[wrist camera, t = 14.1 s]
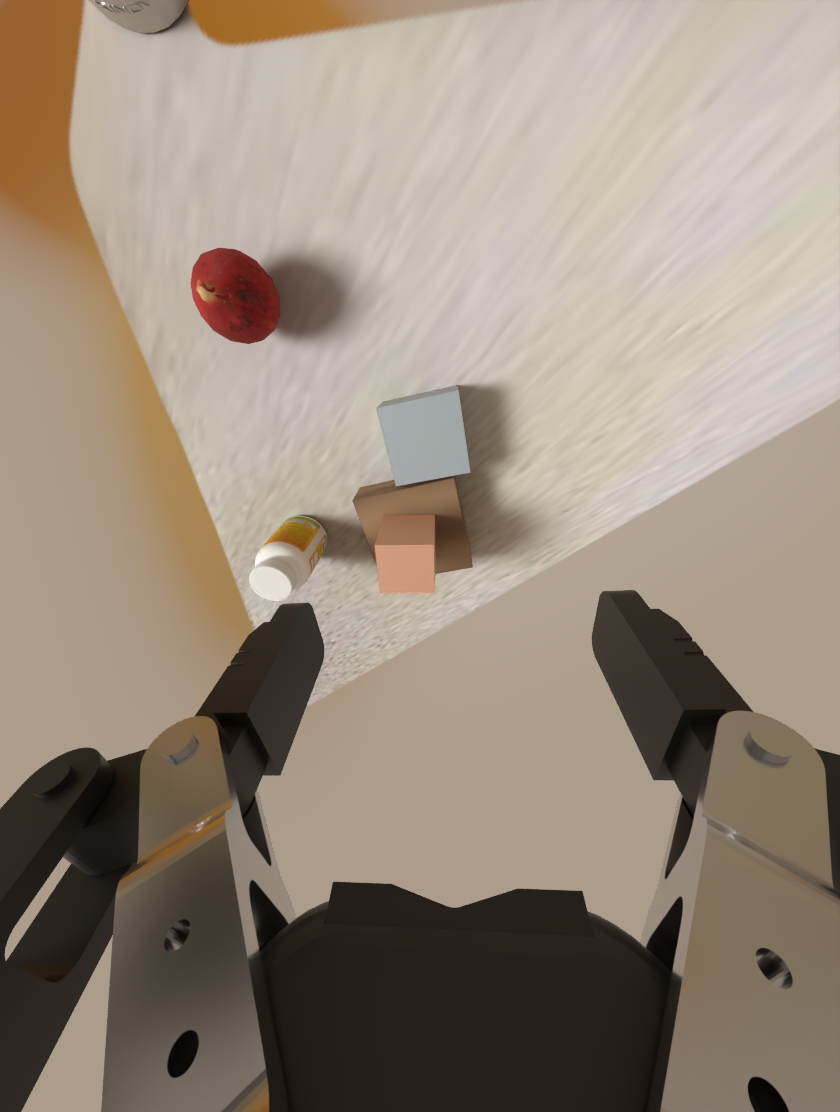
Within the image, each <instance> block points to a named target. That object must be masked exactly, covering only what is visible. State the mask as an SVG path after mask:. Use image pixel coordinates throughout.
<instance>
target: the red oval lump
mask: <svg viewBox="0 0 840 1112" xmlns="http://www.w3.org/2000/svg"><path fill="white" fill-rule="evenodd" d="M191 288H192V295H193V300H194V302H195V304H196V306H197V308H198V310H199V312H200V314H201V316H202V318H203V319H204V320H205V321H206V322H207V323H208V325H209V326H210V327H211V328H212V329H213V330H214V331H215V332H217V333H218V334H220V335H222V336H223V337H225V338H227V339H229V340H230V341H234V342H240V343H246V344H250V343H254V342H258V341H262V340H264V339H265V338H266V337H267V336H269V335H270V334H271V333H272V332H273V331H274V330H275V327H276V325H277V322H278V320H279V317H280V301H279V295H278V293H277V290H276V288H275V285H274V283H273V280H272V278H271V277H270V276H269V275H268V274H267V273H266V272H265V270H264V269H263V268H262V267H261V266H260V265H259V264H258V262H257V261H256V260H254V259H252V258H251V257H249V256H247V255H246V254H244V253H242V252H241V251H238V250H235V249H225V248H217V249H214V250H211V251H208V252H205V253H203V254H201V255H200V257H199V259H198V260H197V262H196V263H195V265H194V267H193V271H192V278H191Z"/></svg>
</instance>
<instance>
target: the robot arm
mask: <svg viewBox="0 0 840 1112" xmlns="http://www.w3.org/2000/svg"><path fill="white" fill-rule="evenodd" d="M89 1H90V2H91V3H92V4H93V5H95V6H96V7H97V8H98V9H99V10H100V11H101V12H102V13H103V14H104V15H106V16H107V17H108V18H109V19H111V20H112V21H114V22H116V23H117V24H119V25H120V26H122V27H124V28H126V29H129V30H133V31H136V32H139V33H154V32H157V31H160V30H162V29H165V28H167V27H169V26H170V25H171V24H172V23H173V22H174V21H175V20H176V19H177V18H179V17H180V15H181V13H182V12H183V10H184V8H185V7H186V5H187V3H188V2H189V0H89ZM592 646H593V651H594V655H595V658H596V660H597V662H598V664H599V666H600V668H601V670H602V672H603V675H604V677H605V679H606V681H607V683H608V685H609V687H610V689H611V691H612V694H613V695H614V698H615V700H616V702H617V704H618V706H619V708H620V710H621V712H622V714H623V716H624V719H625V721H626V723H627V725H628V727H629V729H630V731H631V733H632V736H633V738H634V740H635V742H636V744H637V746H638V748H639V750H640V752H641V754H642V756H643V759H644V761H645V763H646V765H647V767H648V769H649V771H650V773H651V775H652V778H653V780H674V781H675V783H676V785H677V787H678V788H679V791H680V792H681V795H680V797H679V799H678V802H677V807H676V811H675V815H674V819H673V824H672V828H671V832H670V836H669V840H668V845H667V849H666V853H665V858H664V862H663V866H662V870H661V875H660V879H659V883H658V886H657V889H656V893H655V896H654V898H653V901H652V903H651V906H650V909H649V912H648V915H647V918H646V921H645V925H644V929H643V932H642V937H641V940H640V943H639V942H638V941H637V940H636V939H634V938H633V937H632V936H631V935H629V934H628V933H626V932H625V931H623V930H622V929H620V928H619V927H617V926H616V925H614V924H613V923H611V922H609V921H607V920H605V919H603V918H602V917H600V916H598V915H596V914H593V913H590V912H588V911H587V908H586V904H585V900H584V896H583V892H582V891H564V890H538V889H515V890H512V891H509V892H506V893H503V894H500V895H497V896H494V897H490V898H487V899H484V900H481V901H478V902H475V903H472V904H469V905H465V906H462V907H459V908H451V907H447V906H445V905H442V904H440V903H437V902H435V901H432V900H430V899H427V898H425V897H422V896H420V895H417V894H415V893H412V892H410V891H407V890H405V889H402V888H400V887H397V886H395V885H392V884H377V883H376V884H375V883H350V882H333V885H332V890H331V895H330V900H329V901H328V902H325V903H323V904H321V905H319V906H317V907H315V908H312V909H310V910H308V911H307V912H305V913H304V914H302V915H301V916H299V917H298V918H296V916H295V912H294V909H293V906H292V903H291V900H290V898H289V895H288V892H287V890H286V888H285V886H284V884H283V881H282V878H281V876H280V873H279V869H278V866H277V862H276V859H275V854H274V851H273V847H272V843H271V839H270V835H269V831H268V827H267V824H266V820H265V816H264V812H263V808H262V804H261V800H260V796H259V794H258V792H257V787H258V785H259V783H260V781H261V778H262V776H263V775H281V771H282V769H283V767H284V764H285V761H286V759H287V756H288V753H289V751H290V748H291V745H292V743H293V740H294V737H295V735H296V732H297V729H298V727H299V724H300V721H301V718H302V716H303V714H304V710H305V708H306V706H307V703H308V700H309V698H310V695H311V692H312V690H313V687H314V684H315V682H316V679H317V676H318V674H319V671H320V668H321V666H322V663H323V659H324V643H323V639H322V636H321V633H320V630H319V627H318V623H317V620H316V617H315V614H314V611H313V608H312V606H311V605H310V604H309V603H292V604H282V605H280V606H279V608H278V609H277V611H276V613H275V614H274V616H273V617H272V619H271V621H270V622H264V623H263V624H261V625H260V626H259V627H258V628H257V629H255V630H254V631H253V632H252V633H251V634H250V635H248V637H247V639H246V640H245V641H244V643H243V645H242V646H241V647H240V649H239V653H237V654H236V655H235V657H234V658H233V660H232V661H231V665H230V666H228V667H227V669H226V670H225V672H224V673H223V675H222V676H221V678H220V679H219V681H218V682H217V684H216V685H215V687H214V688H213V690H212V691H211V693H210V694H209V696H208V697H207V699H206V700H205V702H204V703H203V705H202V707H201V708H200V709H199V711H198V712H197V714H196V715H195V716H194V717H190V718H187V719H184V720H182V721H179V722H177V723H176V724H174V725H172V726H171V727H169V728H167V729H166V730H165V731H164V732H162V733H161V734H160V735H159V736H158V737H157V738H156V739H155V740H154V741H153V742H152V743H151V744H150V746H149V747H148V749H145V750H142V751H139V752H135V753H132V754H128V755H125V756H122V757H119V758H115V759H112V760H109V761H106V759H105V758H104V757H103V756H102V755H101V754H100V753H99V752H98V751H97V750H95V749H93V748H79V749H76V750H72V751H70V752H67V753H65V754H63V755H60V756H58V757H57V758H55V759H53V760H51V761H50V762H48V763H47V764H45V765H44V766H42V767H41V768H40V769H39V770H37V771H36V772H35V773H34V774H33V775H31V776H30V777H29V778H28V779H27V780H26V781H25V782H24V783H23V784H22V785H21V787H20V788H19V789H18V790H17V791H16V792H15V793H14V794H13V796H12V797H11V798H10V799H9V800H8V801H7V802H6V803H5V804H4V805H3V807H2V808H1V809H0V1112H21V1111H22V1109H23V1107H24V1105H25V1103H26V1101H27V1099H28V1097H29V1095H30V1093H31V1091H32V1090H33V1087H34V1086H35V1084H36V1082H37V1080H38V1078H39V1076H40V1074H41V1072H42V1070H43V1068H44V1066H45V1064H46V1063H47V1060H48V1059H49V1056H50V1055H51V1053H52V1051H53V1049H54V1047H55V1045H56V1043H57V1041H58V1039H59V1037H60V1035H61V1034H62V1031H63V1030H64V1028H65V1026H66V1024H67V1022H68V1020H69V1018H70V1016H71V1014H72V1012H73V1010H74V1008H75V1006H76V1004H77V1003H78V1001H79V999H80V997H81V995H82V993H83V991H84V989H85V987H86V985H87V983H88V981H89V979H90V977H91V975H92V974H93V971H94V970H95V968H96V966H97V964H98V962H99V960H100V958H101V956H102V954H103V952H104V950H105V948H106V946H107V945H108V943H109V941H110V939H111V937H112V935H113V942H112V957H111V972H110V987H109V1002H108V1019H107V1035H106V1048H105V1049H106V1050H105V1063H104V1079H103V1094H102V1109H101V1112H840V755H837V754H833V753H829V752H825V751H821V750H818V749H815V748H813V746H812V745H811V744H810V743H809V742H808V741H807V740H806V739H804V738H803V737H802V736H801V735H800V734H798V733H797V732H796V731H794V730H793V729H791V728H789V727H788V726H787V725H785V724H783V723H781V722H779V721H777V720H775V719H773V718H770V717H768V716H765V715H762V714H758V713H754V712H753V711H752V710H751V709H750V708H749V706H748V705H747V704H746V703H745V701H744V700H743V699H742V698H741V696H740V695H739V694H738V693H737V692H736V690H735V689H734V688H733V687H732V686H731V684H730V683H729V682H728V681H727V680H726V678H725V677H724V676H723V675H722V674H721V672H720V671H719V670H718V669H717V668H716V666H715V665H714V664H713V663H712V662H711V660H710V659H709V658H708V657H707V656H704V654H703V651H702V649H701V648H700V647H699V646H698V645H697V643H696V642H693V641H692V637H691V636H690V635H689V634H688V633H687V632H686V631H685V629H684V628H683V627H682V625H681V624H680V623H679V622H678V621H676V620H675V619H673V618H672V617H670V616H669V615H667V614H666V613H664V612H663V611H661V610H660V609H650V608H649V607H648V605H647V604H646V603H645V602H644V600H643V599H642V598H641V596H640V595H639V594H638V593H637V592H636V591H634V590H624V591H604V592H602V593H601V595H600V597H599V602H598V607H597V612H596V617H595V622H594V627H593V633H592ZM62 857H63V858H65V859H66V860H68V861H69V862H70V863H71V865H70V867H69V868H68V869H67V871H66V872H65V874H64V876H63V877H62V879H61V880H60V881H59V883H58V884H57V886H56V888H55V889H54V891H53V892H52V893H51V895H50V897H49V898H48V899H47V901H46V903H45V904H44V906H43V907H42V909H41V910H40V912H39V913H38V914H37V916H36V917H35V919H34V920H33V922H32V923H31V925H30V926H29V928H28V929H27V931H26V932H25V934H24V936H23V937H22V938H21V940H20V942H19V943H18V944H17V946H16V947H15V949H14V950H13V952H12V953H11V955H10V956H9V958H8V959H7V961H5V956H4V954H5V947H6V944H7V941H8V938H9V936H10V934H11V932H12V930H13V928H14V927H15V925H16V924H17V922H18V921H19V919H20V918H21V916H22V915H23V913H24V912H25V911H26V909H27V908H28V906H29V905H30V903H31V902H32V900H33V899H34V897H35V896H36V895H37V893H38V892H39V890H40V889H41V887H42V886H43V885H44V883H45V881H46V880H47V878H48V877H49V876H50V874H51V873H52V872H53V870H54V869H55V867H56V866H57V864H58V863H59V861H60V860H61V859H62Z"/></svg>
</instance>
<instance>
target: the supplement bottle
mask: <svg viewBox="0 0 840 1112" xmlns="http://www.w3.org/2000/svg"><path fill="white" fill-rule="evenodd" d="M326 546H327V534H326V531H325V530H324V528H323V527H322V525H321V524H320V523H319V522H317V521H316V520H314V519H312V518H310V517H307V516H302V515H299V516H293V517H291V518H289V519H287V520H286V521H285V522H284V523H283V524H282V525H281V526H280V527H279V529H278V530H277V531H276V532H275V533H274V534H273V536H272V537H271V538H270V539H269V540H268V541H267V542H266V544H265V545H264V546H263V547H262V548H261V549H260V551H259V552H258V554H257V556H256V559H255V568H254V569H253V571H252V572H251V574H250V584H251V587H252V588H253V590H254V591H255V592H256V593H257V594H258V595H259V596H261V597H263V598H265V599H267V600H271V601H281V600H284V599H286V598H287V597H289V596H290V594H291V593H292V591H293V590H295V589H298V588H300V587H301V586H302V585H304V584H305V582H306V581H307V580H308V578H309V577H310V575H311V573H312V571H313V570H314V568H315V566H316V564H317V563H318V561H319V559H320V557H321V556H322V554H323V552H324V550H325V548H326Z"/></svg>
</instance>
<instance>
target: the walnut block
mask: <svg viewBox="0 0 840 1112" xmlns="http://www.w3.org/2000/svg"><path fill="white" fill-rule="evenodd" d="M353 503H354V506H355V509H356V511H357V514H358V517H359V520H360V522H361V525H362V528H363V530H364V533H365V536H366V539H367V541H368V544H369V547H370V549H371V552H372V555H373V557H374V560H375V563H376V566H377V562H376V554H375V542H376V539H377V536H378V533H379V530H380V527H381V523H382V520H383V517H384V515H435V550H436V564H435V574H437V573H443V572H448V571H454V570H460V569H465V568H471V567H473V566H472V558H471V550H470V545H469V540H468V536H467V531H466V526H465V521H464V517H463V512H462V507H461V502H460V498H459V493H458V488H457V483H456V478H455V476H449V477H444V478H439V479H433V480H428V481H422V482H417V483H411V484H406V485H401V486H396V484H395V480H391V481H387V482H383V483H378V484H374V485H369V486H365V487H361V488H360V489H359V490H358V492H357V494H356V495H355V497H354V499H353Z"/></svg>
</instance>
